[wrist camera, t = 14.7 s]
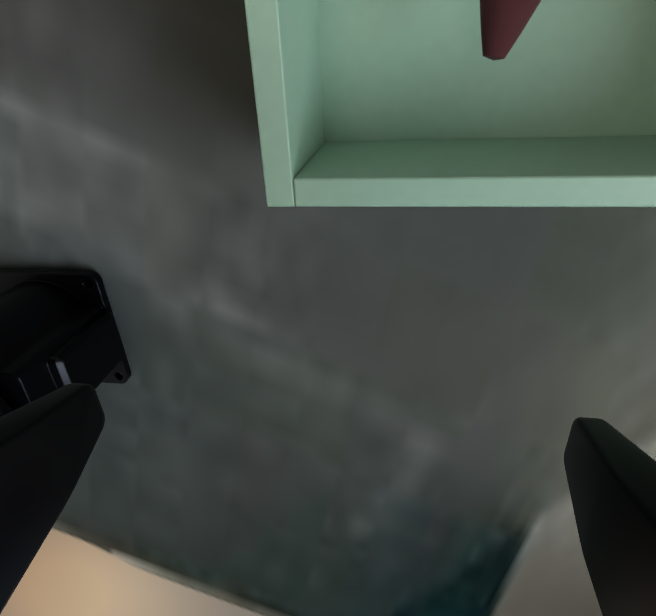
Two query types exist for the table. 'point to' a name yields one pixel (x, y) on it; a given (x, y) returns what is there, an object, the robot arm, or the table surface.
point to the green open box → (454, 104)
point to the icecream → (503, 24)
